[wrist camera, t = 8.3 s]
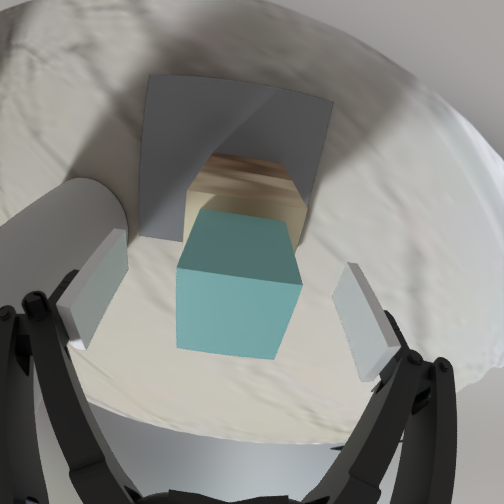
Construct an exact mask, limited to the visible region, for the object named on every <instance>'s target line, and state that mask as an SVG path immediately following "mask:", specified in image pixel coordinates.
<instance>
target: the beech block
mask: <svg viewBox="0 0 504 504" xmlns="http://www.w3.org/2000/svg"><path fill="white" fill-rule="evenodd" d="M200 208H201V209H208V210H215V211H221V212H228V213H235V214H241V215H247V216H254V217H260V218H266V219H272V220H278V221H284V222H286V226H287V229H288V233H289V236H290V240H291V244H292V247H293V251H294V254H295V252H296V249H297V246H298V242H299V239H300V235H301V232H302V229H303V225H304V222H305V218H306V215H307V211H308V209H307V207H306V205H305V203H304V201H303V200H302V198H301V196H300V194H299V192H298V190H297V188H296V186H295V185H294V183H293V181H291V180H286V179H280V178H275V177H270V176H264V175H258V174H252V173H246V172H240V171H234V170H227V169H220V168H213V167H205V166H203V167H202V169H201V170H200V172H199V173H198V175H197V176H196V178H195V179H194V181H193V182H192V184H191V185H190V187H189V188H188V190H187V195H186V207H185V220H184V234H183V250H184V247H185V244H186V242H187V239H188V237H189V234H190V232H191V229H192V227H193V225H194V222H195V220H196V217H197V215H198V213H199V210H200Z"/></svg>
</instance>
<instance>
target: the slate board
mask: <svg viewBox="0 0 504 504" xmlns="http://www.w3.org/2000/svg"><path fill="white" fill-rule="evenodd" d="M332 106H333V101H329V100H326V99H322V98H319V97H315V96H311V95H308V94H304V93H300V92H295V91H291V90H287V89H282V88H277V87H272V86H267V85H262V84H256V83H250V82H243V81H236V80H229V79H220V78H211V77H199V76H183V75H149V82H148V88H147V95H146V103H145V111H144V120H143V130H142V142H141V156H140V176H139V236H145V237H152V238H158V239H165V240H172V241H179V242H183V234H184V220H185V207H186V195H187V190H188V188H189V187H190V185H191V184H192V182H193V181H194V179H195V178H196V176H197V175H198V173H199V172H200V170H201V169H202V167H203V166H204V164H205V163H206V161H207V160H208V158H209V157H210V156H211V154H212V153H220V154H227V155H234V156H240V157H246V158H252V159H258V160H264V161H269V162H274V163H280V164H283V165H284V167H285V168H286V170H287V172H288V174H289V176H290V177H291V179H292V181H293V183H294V185H295V186H296V188H297V190H298V192H299V194H300V196H301V198H302V200H303V201H304V203H305V205H306V207H307V205H308V201H309V198H310V194H311V190H312V187H313V183H314V179H315V175H316V172H317V168H318V164H319V160H320V156H321V152H322V148H323V144H324V140H325V136H326V132H327V128H328V123H329V119H330V115H331V111H332Z"/></svg>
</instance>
